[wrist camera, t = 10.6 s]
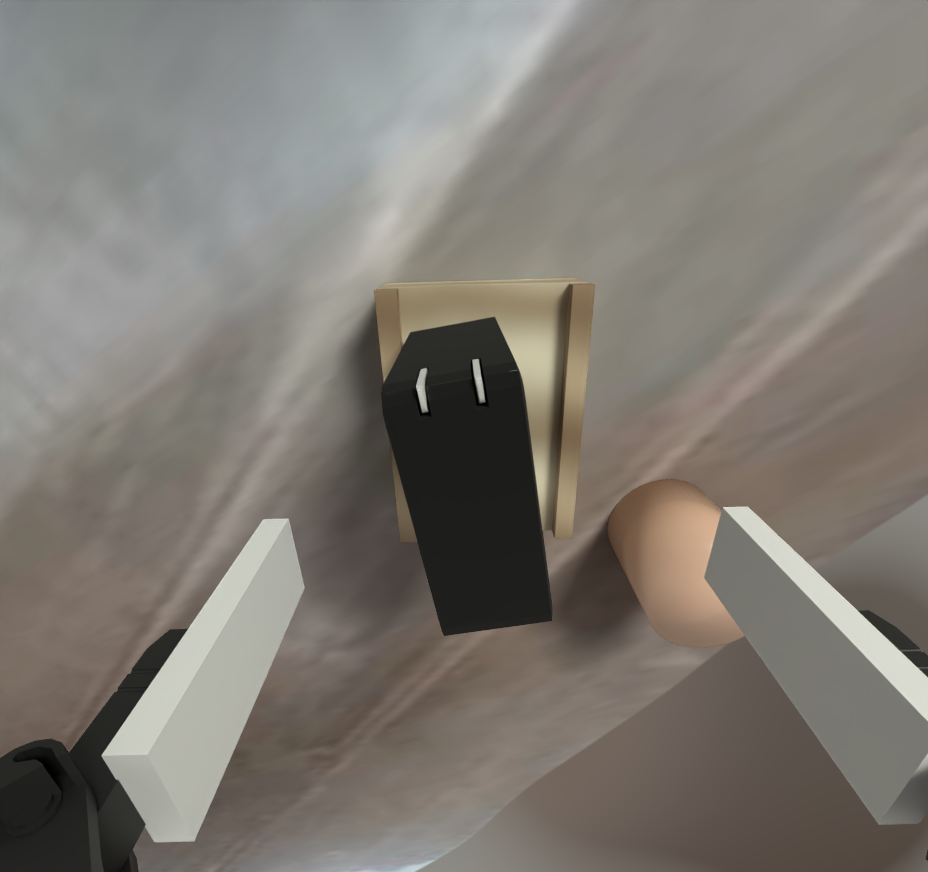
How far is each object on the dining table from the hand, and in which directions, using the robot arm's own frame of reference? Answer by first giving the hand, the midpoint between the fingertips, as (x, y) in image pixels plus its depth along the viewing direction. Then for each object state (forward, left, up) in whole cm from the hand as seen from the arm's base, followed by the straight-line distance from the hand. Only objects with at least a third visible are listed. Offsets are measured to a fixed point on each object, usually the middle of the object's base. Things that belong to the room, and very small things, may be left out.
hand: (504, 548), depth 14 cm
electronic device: (0, -1, -11) cm, 11 cm away
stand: (0, 0, -14) cm, 14 cm away
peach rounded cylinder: (+9, +12, -14) cm, 20 cm away
